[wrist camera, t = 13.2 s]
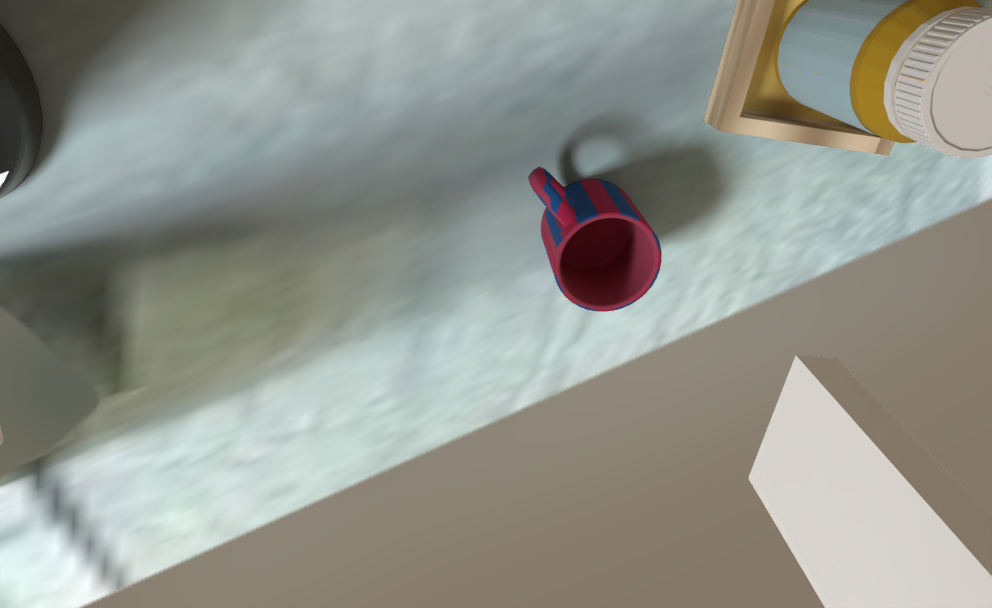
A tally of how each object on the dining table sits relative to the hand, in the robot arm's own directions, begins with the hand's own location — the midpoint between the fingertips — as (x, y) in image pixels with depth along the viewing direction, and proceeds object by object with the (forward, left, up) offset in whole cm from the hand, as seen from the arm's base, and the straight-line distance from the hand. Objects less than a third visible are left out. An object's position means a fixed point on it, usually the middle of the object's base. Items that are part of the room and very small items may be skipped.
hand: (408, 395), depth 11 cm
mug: (+10, -8, -36) cm, 38 cm away
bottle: (+24, +5, -35) cm, 42 cm away
